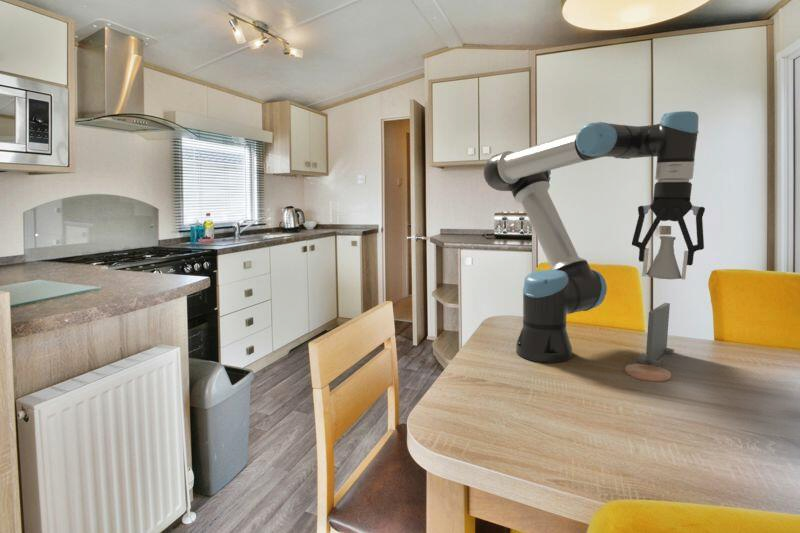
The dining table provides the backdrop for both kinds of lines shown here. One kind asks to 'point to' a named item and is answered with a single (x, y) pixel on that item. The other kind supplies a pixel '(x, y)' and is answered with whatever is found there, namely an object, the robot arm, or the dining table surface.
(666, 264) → the flask
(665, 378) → the coaster
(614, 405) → the dining table surface
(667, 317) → the screen
